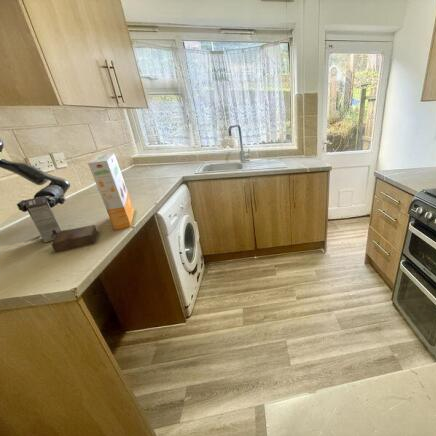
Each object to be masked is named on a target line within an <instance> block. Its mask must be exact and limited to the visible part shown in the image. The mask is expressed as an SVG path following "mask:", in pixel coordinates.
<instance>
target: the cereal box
mask: <svg viewBox="0 0 436 436" xmlns="http://www.w3.org/2000/svg"><path fill="white" fill-rule="evenodd" d="M87 164H88V167H89V169H90V173H91V174H92V177H93V179H94V182H95V185H96V187H97V190H98V192H99V194H100V197H101V199H102V202H103V204H104V207H105V209H106V211H107V214H108V217H109V220H110V222H111V225H112V227H113V229H114V230H120V229H125V228H129V227H131V226H132V223H133V217H134V214H135V208H134V206H133V203H132V201H131V200H132V199H131V197H130V194H129V191H128V188H127V185H126V182H125V180H124V177H123V174H122V170H121V168H120V165H119V162H118V159H117V157H116V153H114V152H112V153H104V154H98V155H97V156H95V157H93V159H91V160H90V161H89V162H87Z"/></svg>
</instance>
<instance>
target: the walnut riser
mask: <svg viewBox="0 0 436 436" xmlns="http://www.w3.org/2000/svg"><path fill="white" fill-rule="evenodd" d="M98 234H99V231H98V229H97V227H96V225H94V224H92V225H87V226H86V225H85V226H82V227H81V226H80V227H76V228H70V229H66V230H62V231H60V232H59V233H58V235H57V237H56V238H55V240H52V243H51V247H52V249H53V251H54V253H55V254H56V253H61V252H65V251H70V250H74V249H79V248H82V247H86V246H90V245H95V243H96V240H97V236H98Z"/></svg>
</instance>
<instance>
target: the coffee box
mask: <svg viewBox="0 0 436 436" xmlns="http://www.w3.org/2000/svg"><path fill="white" fill-rule="evenodd" d="M23 200H24V202H25V206H26V209H27V211H26V212H28V215H29V216H30V218H31V220H32V222H33V224H34V226H35V228H36V229H37V231H38V233H39V235H40V237H41V238H42V240H43V242H44V243H48V242H53V241H54V240H55V238H56V237H57V235H58V233H59V232H60V231H63V230H62V228H61V226H60V224H59V222H58V220H57V217H56V216H55V213H54V212H53V209H52V208H51V207H50V205H49V203H48V201H47V199H46V197H45V196H43V197H38V198H34V197H33V198H28V199H23Z"/></svg>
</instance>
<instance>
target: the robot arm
mask: <svg viewBox="0 0 436 436" xmlns="http://www.w3.org/2000/svg"><path fill="white" fill-rule="evenodd" d="M4 144H5V143H4V140H2V139H1V138H0V152H1V153H2V151H3V149H4ZM0 168H1V169H3V170H6V171H8V172H11V173H13V174H15V175H18V176H20V177H22V178H23V179H25V180H27V181H28V182H31V183H32V184H34V185H36V186H43V185H45V184H47V183H48V182H49V181H50V182H49V184H48V185H46V186H44V187H43V188H41V189H39V190H38V191H37V192H36V193H35V194H34V195H33V198H38V197H43V196H45V197H46V199H47V201H48V203H49V205H50V207H51V209H52V208H55V207H56V206H58V205H64V203H66V201H67V199H66V197H65V194H66V193H67V191H68V190H69V189H70V188H71V183H70V182H69V181H68V180H67V179H65V178H62V177H59V176H55V175H52V174H50V173H47V172H45V171H43V170H42V169H40V168H38V167H36V166H35V165H32V164H30V163H26V162H15V161H10V160H7V159H6V158H4V159H1V160H0ZM24 200H25V199H22V200H21V201H19V202H18V203H16V207H17V208H18V210H19V211H21V212H23V213H25V212H28V211H27V209H26V206H25V202H24Z"/></svg>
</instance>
